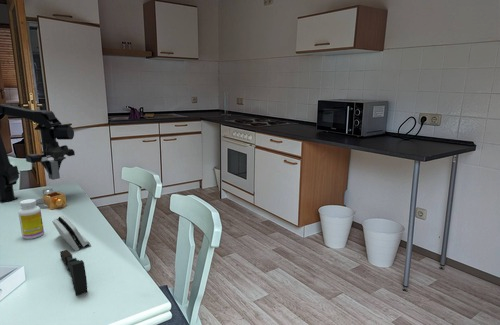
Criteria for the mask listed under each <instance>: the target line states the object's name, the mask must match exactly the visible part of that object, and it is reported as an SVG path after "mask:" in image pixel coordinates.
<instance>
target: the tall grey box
mask: <svg viewBox="0 0 500 325" xmlns="http://www.w3.org/2000/svg"><path fill="white" fill-rule="evenodd" d="M49 161H50V162H49V166H50V170H51V175H49V174H48V173H47V174H48V179H49V180H57V179H61V177H60V169H59V167H58V161H56V160H54V159H50V160H49Z"/></svg>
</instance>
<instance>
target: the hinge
mask: <svg viewBox="0 0 500 325" xmlns="http://www.w3.org/2000/svg"><path fill="white" fill-rule="evenodd" d="M52 224H53V225H54V227H55V229H56V230H57V232H58V234H59V236H60V237H61V238H62V239H64V241H65V242H66V243H67V244H68V245H69V246H70V247H71V248H72V249H74V251H75V252H76V251H77V252H78V251H80V249H81V248H82V247H83V248H84V247H85V246H86V245H88V246H89V247H92V244H91V243H90V241H89V240H88V239H87V238H86V237H84V235H82V234H81V233H80V232H79V229H77V227H76V226H75V225H74V224H73V223H72V221H71V220H70V219H69V218H68V217H66V216H65V215H63V214H62V215H60V216H58V218H54V219H53V220H52Z"/></svg>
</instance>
